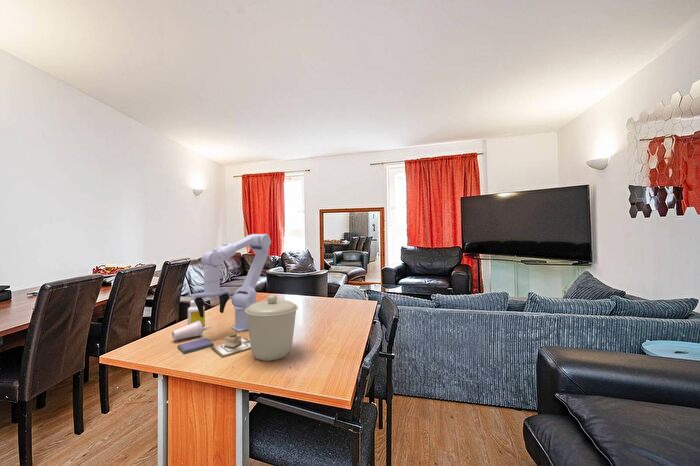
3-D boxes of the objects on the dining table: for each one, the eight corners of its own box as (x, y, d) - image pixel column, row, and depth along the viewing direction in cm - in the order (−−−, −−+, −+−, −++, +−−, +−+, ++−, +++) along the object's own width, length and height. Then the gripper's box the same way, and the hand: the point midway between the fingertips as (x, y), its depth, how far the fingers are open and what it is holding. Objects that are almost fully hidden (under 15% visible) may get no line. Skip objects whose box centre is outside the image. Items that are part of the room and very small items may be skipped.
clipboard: (246, 338, 111) (246, 336, 111) (259, 346, 104) (259, 344, 104) (210, 348, 102) (210, 346, 102) (222, 357, 94) (222, 355, 94)
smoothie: (177, 343, 105) (214, 332, 115) (174, 327, 106) (212, 316, 116) (172, 344, 109) (208, 332, 120) (169, 327, 110) (206, 317, 120)
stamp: (232, 343, 105) (232, 331, 105) (241, 344, 104) (241, 332, 104) (223, 347, 101) (223, 335, 101) (233, 349, 100) (233, 336, 100)
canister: (232, 362, 90) (233, 298, 91) (263, 342, 108) (264, 288, 108) (281, 369, 86) (282, 302, 86) (306, 347, 103) (306, 291, 103)
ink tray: (206, 340, 109) (206, 337, 109) (213, 346, 104) (213, 343, 104) (177, 347, 102) (177, 344, 102) (183, 354, 97) (183, 351, 97)
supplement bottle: (208, 328, 123) (207, 299, 123) (193, 333, 117) (193, 303, 117) (199, 326, 126) (198, 298, 126) (184, 330, 120) (184, 301, 120)
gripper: (226, 277, 119) (226, 309, 119) (189, 281, 109) (188, 316, 108) (233, 279, 114) (232, 312, 114) (194, 284, 104) (194, 320, 103)
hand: (211, 314), depth 111 cm, fingers open, 7 cm apart
